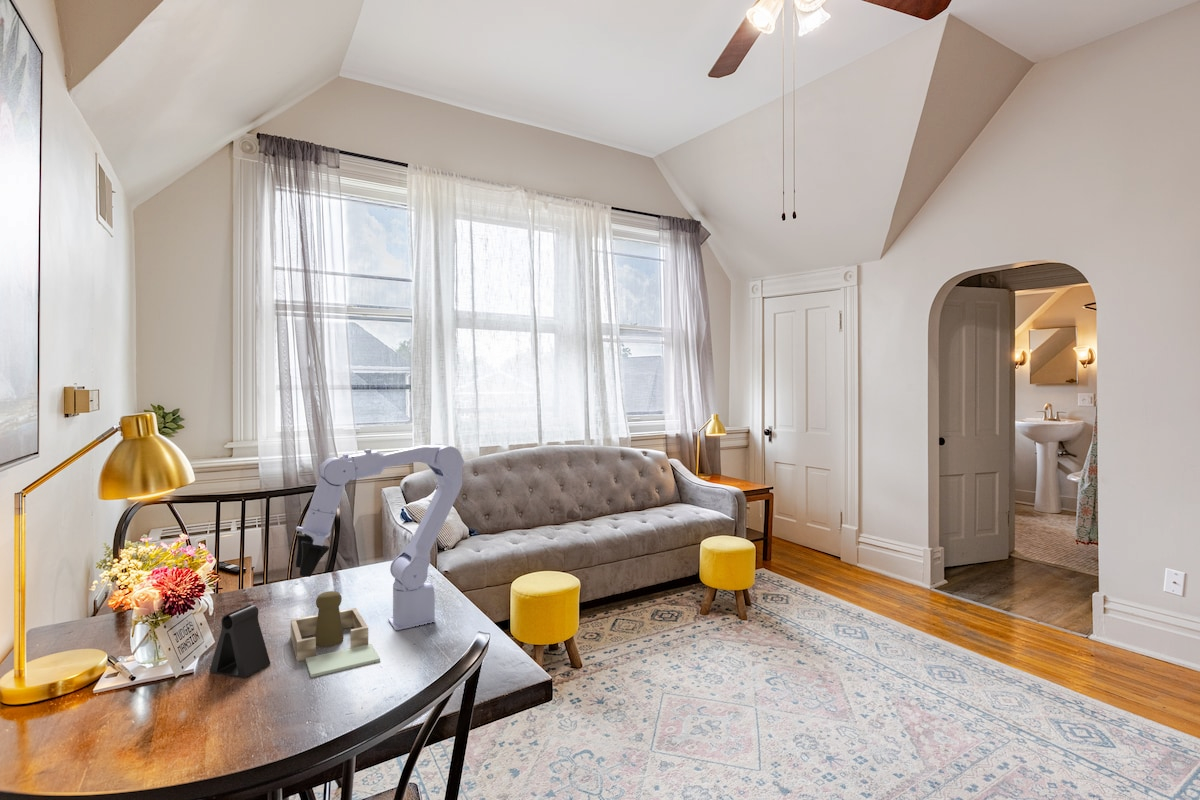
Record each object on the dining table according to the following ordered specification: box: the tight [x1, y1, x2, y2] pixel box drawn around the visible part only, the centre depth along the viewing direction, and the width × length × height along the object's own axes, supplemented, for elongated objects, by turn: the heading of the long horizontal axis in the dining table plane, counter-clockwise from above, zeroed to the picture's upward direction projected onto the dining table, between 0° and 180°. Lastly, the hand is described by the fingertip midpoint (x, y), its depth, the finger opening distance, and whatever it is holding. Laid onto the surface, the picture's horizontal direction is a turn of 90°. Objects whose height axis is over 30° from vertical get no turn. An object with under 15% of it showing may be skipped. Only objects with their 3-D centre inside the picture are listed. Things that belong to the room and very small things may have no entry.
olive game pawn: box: [314, 590, 344, 648], centre depth 130 cm, size 6×6×11 cm
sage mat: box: [305, 643, 381, 678], centre depth 121 cm, size 13×8×1 cm, turn 123°
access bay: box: [290, 607, 369, 662], centre depth 130 cm, size 14×14×4 cm
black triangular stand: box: [208, 604, 271, 680], centre depth 117 cm, size 9×6×12 cm, turn 75°
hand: (302, 571), depth 127 cm, fingers open, 7 cm apart
